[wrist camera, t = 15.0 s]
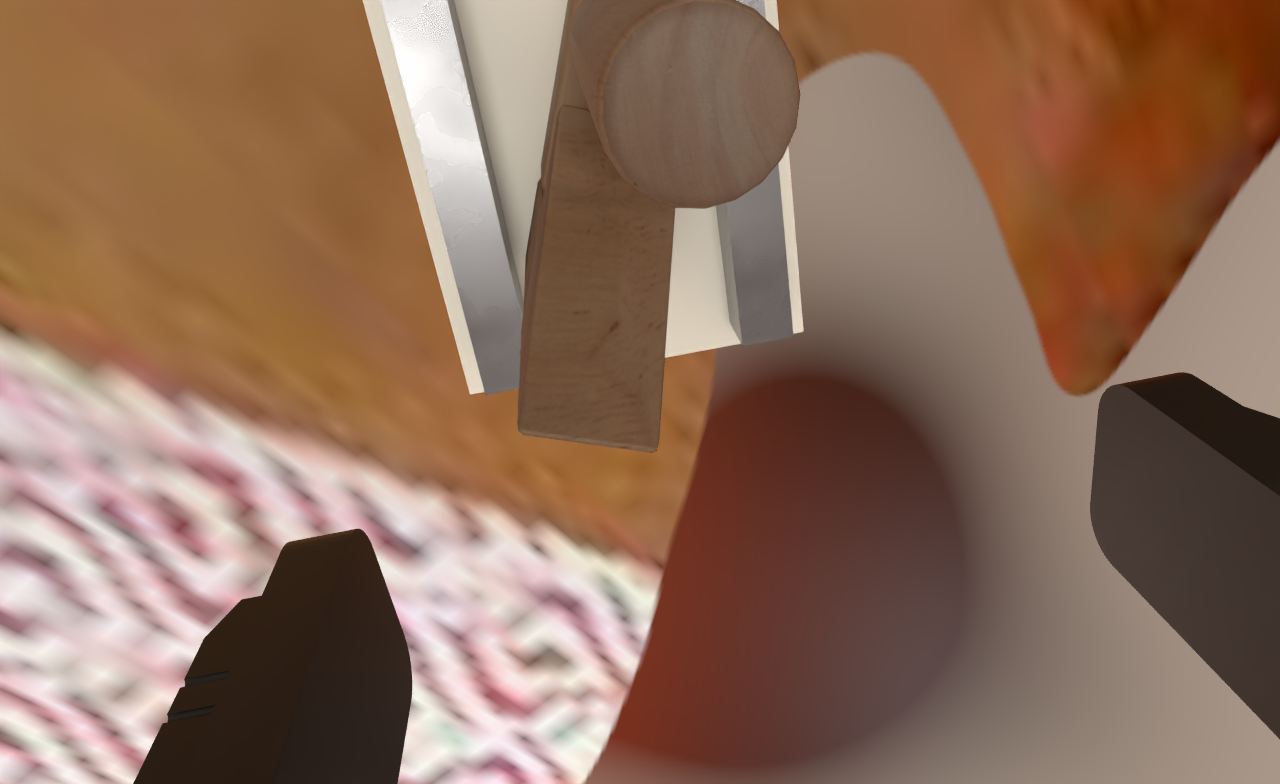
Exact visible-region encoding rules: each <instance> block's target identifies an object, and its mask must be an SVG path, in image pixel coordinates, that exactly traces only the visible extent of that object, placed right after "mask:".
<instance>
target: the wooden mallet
mask: <svg viewBox="0 0 1280 784" xmlns="http://www.w3.org/2000/svg"><path fill="white" fill-rule="evenodd" d="M799 101H800V90H799V84H798V78H797V72H796V67H795V61H794V59H793V57H792V55H791V53H790V52H789V50H788V48H787V46H786V44H785V42H784V40H783V38H782V36H781V34H780V33H779V31H778V30H777V29H776V28H775V27H774V26H773V25H771V24H770V23H769V22H768V21H767V20H766V19H765V18H764V17H763V16H762V15H761V14H760V13H759V12H758V11H757V10H756V9H754V8H752V7H749V6H747V5H745V4H743V3H740V2H738V1H736V0H568V2H567V8H566V14H565V20H564V26H563V33H562V39H561V45H560V51H559V57H558V63H557V69H556V75H555V81H554V87H553V93H552V99H551V105H550V111H549V117H548V123H547V129H546V136H545V142H544V148H543V154H542V160H541V178H540V180H539V181H538V184H537V190H536V196H535V202H534V208H533V214H532V220H531V226H530V232H529V238H528V244H527V250H526V257H525V283H524V309H523V321H522V327H521V350H520V375H519V400H518V430H519V432H520V433H522V434H523V435H528V436H535V437H542V438H550V439H557V440H564V441H571V442H578V443H585V444H593V445H600V446H607V447H614V448H621V449H628V450H636V451H643V452H650V453H652V452H655V451H657V448H658V444H659V434H660V420H661V405H662V391H663V377H664V363H665V348H666V334H667V320H668V306H669V291H670V277H671V263H672V249H673V235H674V220H675V208H696V209H707V208H710V207H713V206H717V205H720V204H724V203H727V202H731V201H734V200H736V199H738V198H739V197H741V196H742V195H744V194H745V193H747V192H749V191H750V190H752V189H753V188H755V187H756V186H758V185H759V184H761V183H762V182H763V181H764V180H765V178H766V177H767V176H768V175H769V174H770V172H771V171H772V170H773V169H774V168H775V167H776V165H777V164H778V163H779V162H780V161H781V159H782V158H783V156H784V154H785V152H786V149H787V147H788V145H789V143H790V140H791V138H792V136H793V133H794V131H795V129H796V124H797V116H798V109H799Z"/></svg>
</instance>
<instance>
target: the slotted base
mask: <svg viewBox="0 0 1280 784" xmlns="http://www.w3.org/2000/svg"><path fill="white" fill-rule="evenodd" d="M736 1H738V2H740V3H743V4H745V5H747V6H749V7H752V8H754V9H756V10H757V11H758V12H759V13H760V14H761V15H762V16H763V17H764V18H765V19H766V20H767V21H768V22H769V23H770V24H771V25H773V26H774V27H775V28H776V29H777V30H778V31H779V25H778V13H777V0H736ZM567 2H568V0H363V4H364V7H365V11H366V15H367V18H368V22H369V26H370V29H371V33H372V37H373V40H374V44H375V48H376V51H377V55H378V59H379V62H380V66H381V70H382V73H383V77H384V81H385V84H386V88H387V92H388V95H389V99H390V103H391V106H392V110H393V114H394V117H395V121H396V125H397V128H398V132H399V136H400V139H401V143H402V147H403V150H404V154H405V158H406V161H407V165H408V169H409V172H410V176H411V180H412V183H413V187H414V191H415V194H416V198H417V202H418V205H419V209H420V213H421V216H422V220H423V224H424V227H425V231H426V235H427V238H428V242H429V246H430V249H431V253H432V257H433V260H434V264H435V267H436V271H437V275H438V278H439V282H440V286H441V289H442V293H443V297H444V300H445V304H446V308H447V311H448V315H449V319H450V322H451V326H452V330H453V333H454V337H455V341H456V344H457V348H458V352H459V355H460V359H461V363H462V366H463V370H464V374H465V377H466V381H467V385H468V388H469V392H470V394H475V393H481V392H485V395H488V394H493V393H499V392H504V391H509V390H514V389H519V375H520V350H521V327H522V321H523V309H524V283H525V257H526V250H527V244H528V238H529V232H530V226H531V220H532V214H533V208H534V202H535V196H536V190H537V184H538V181H539V180H540V178H541V160H542V154H543V148H544V142H545V136H546V129H547V123H548V117H549V111H550V105H551V99H552V93H553V87H554V81H555V75H556V69H557V63H558V57H559V51H560V45H561V39H562V33H563V26H564V20H565V14H566V8H567ZM799 332H803V320H802V307H801V295H800V284H799V270H798V258H797V246H796V235H795V221H794V209H793V198H792V185H791V173H790V160H789V148H788V147H787V149H786V152H785V154H784V156H783V158H782V159H781V161H780V162H779V163H778V164H777V165H776V167H775V168H774V169H773V170H772V171H771V172H770V174H769V175H768V176H767V177H766V178H765V180H764V181H763V182H762V183H761V184H759V185H758V186H756V187H755V188H753V189H752V190H750V191H749V192H747V193H745V194H744V195H742V196H741V197H739V198H738V199H736V200H734V201H731V202H727V203H724V204H720V205H717V206H713V207H710V208H707V209H696V208H675V220H674V235H673V249H672V263H671V277H670V291H669V306H668V320H667V334H666V348H665V358H666V357H672V356H677V355H682V354H688V353H693V352H698V351H704V350H709V349H714V348H719V347H725V346H730V345H735V344H742V346H748V345H753V344H758V343H764V342H769V341H774V340H780V339H785V338H790V337H794V336H793V334H794V333H799Z"/></svg>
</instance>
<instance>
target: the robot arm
mask: <svg viewBox="0 0 1280 784" xmlns="http://www.w3.org/2000/svg"><path fill="white" fill-rule="evenodd" d="M1090 513H1091V521H1092V526H1093V530H1094V533H1095V536H1096V539H1097V541H1098V544H1099V546H1100V548H1101V550H1102V551H1103V553H1104V555H1105V556H1106V558H1107V559H1108V560H1109V562H1110V563H1111V564H1112V565H1113V566H1114V567H1115V568H1116V569H1117V570H1118V572H1119V573H1121V575H1122V576H1123V577H1124V578H1125V579H1126V580H1127V581H1128V582H1129V583H1130V584H1131V585H1132V586H1133V587H1134V588H1135V589H1136V590H1137V591H1138V592H1139V593H1140V594H1141V595H1142V596H1143V597H1144V599H1145V600H1147V602H1148V603H1149V604H1150V605H1151V606H1152V607H1153V608H1154V609H1155V610H1156V611H1157V612H1158V613H1159V614H1160V615H1161V616H1162V617H1163V618H1164V619H1165V620H1166V621H1167V622H1168V623H1169V625H1170V626H1171V627H1172V628H1173V629H1174V630H1176V632H1177V633H1178V634H1179V635H1180V636H1181V637H1182V638H1183V639H1184V640H1185V641H1186V642H1187V643H1188V644H1189V645H1190V646H1191V647H1192V648H1193V649H1194V650H1195V652H1196V653H1197V654H1198V655H1199V656H1200V657H1201V658H1202V659H1203V660H1204V661H1205V662H1206V663H1207V664H1208V665H1209V666H1210V667H1211V668H1212V669H1213V670H1214V671H1215V672H1216V673H1217V674H1218V675H1219V677H1221V679H1222V680H1223V681H1224V682H1225V683H1226V684H1227V685H1228V686H1229V687H1230V688H1231V689H1232V690H1233V691H1234V692H1235V693H1236V694H1237V695H1238V696H1239V697H1240V698H1241V699H1242V700H1243V701H1244V703H1246V705H1247V706H1249V708H1250V709H1251V710H1252V711H1253V712H1254V713H1255V714H1256V715H1257V716H1258V717H1259V718H1260V719H1261V720H1262V721H1263V722H1264V723H1265V724H1266V725H1267V726H1268V727H1269V729H1270V730H1271V731H1273V733H1274V734H1275V735H1276V736H1277V737H1278V738H1279V739H1280V419H1279V418H1277V417H1274V416H1271V415H1268V414H1265V413H1262V412H1259V411H1256V410H1253V409H1250V408H1247V407H1244V406H1242V405H1240V404H1239V403H1237V402H1236V401H1234V400H1232V399H1231V398H1229V397H1228V396H1226V395H1224V394H1223V393H1221V392H1220V391H1218V390H1216V389H1215V388H1213V387H1212V386H1210V385H1208V384H1207V383H1205V382H1204V381H1202V380H1200V379H1199V378H1197V377H1195V376H1193V375H1191V374H1189V373H1174V374H1169V375H1164V376H1159V377H1154V378H1148V379H1143V380H1138V381H1133V382H1127V383H1123V384H1118V385H1113V386H1110V387H1109V388H1107V389H1106V391H1105V392H1104V393H1103V395H1102V397H1101V400H1100V403H1099V409H1098V419H1097V431H1096V444H1095V455H1094V467H1093V480H1092V490H1091V502H1090ZM184 680H185V687H181V688H180V689H179V691H178V693H177V695H176V697H175V699H174V701H173V704H172V706H171V708H170V710H169V712H168V714H167V715H168V723H163V724H162V726H161V728H160V730H159V732H158V734H157V736H156V738H155V740H154V742H153V744H152V747H151V749H150V751H149V753H148V755H147V757H146V759H145V761H144V763H143V765H142V767H141V769H140V771H139V773H138V775H137V777H136V779H135V781H134V783H133V784H397V783H398V777H399V771H400V765H401V759H402V753H403V747H404V741H405V735H406V729H407V723H408V717H409V711H410V705H411V698H412V671H411V662H410V656H409V651H408V646H407V642H406V639H405V636H404V633H403V630H402V628H401V625H400V622H399V619H398V616H397V614H396V611H395V608H394V605H393V602H392V600H391V597H390V594H389V591H388V588H387V586H386V583H385V580H384V577H383V575H382V572H381V569H380V566H379V563H378V561H377V558H376V555H375V552H374V549H373V547H372V544H371V542H370V540H369V538H368V536H367V535H366V534H365V532H364V531H363V530H361V529H354V530H348V531H343V532H338V533H333V534H328V535H322V536H317V537H312V538H307V539H302V540H296V541H291V542H288V543H286V544H285V546H284V547H283V549H282V550H281V553H280V555H279V557H278V560H277V562H276V564H275V566H274V569H273V571H272V573H271V576H270V578H269V580H268V583H267V585H266V587H265V590H264V592H263V594H262V596H258V597H253V598H248V599H242V600H241V601H240V602H239V603H238V604H237V605H236V606H235V607H234V608H233V609H232V610H231V611H230V612H229V613H228V614H227V615H226V616H225V617H224V618H223V619H222V620H221V621H220V623H219V624H218V625H217V626H216V627H215V628H214V629H213V630H212V631H211V632H210V633H209V634H208V635H207V636H206V637H205V638H204V640H203V642H202V644H201V646H200V648H199V650H198V652H197V654H196V656H195V658H194V660H193V663H192V665H191V667H190V669H189V671H188V673H187V675H186V677H185V679H184Z"/></svg>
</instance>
